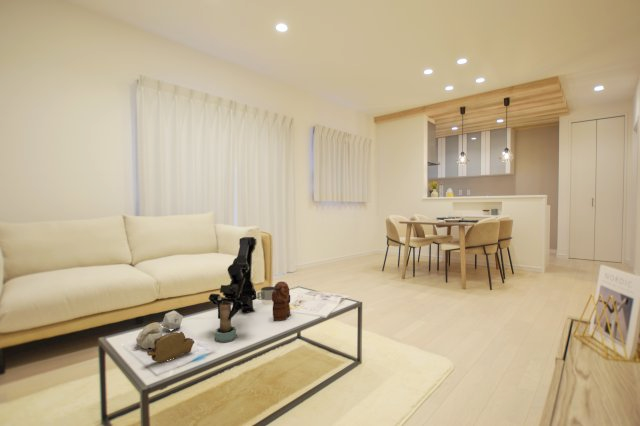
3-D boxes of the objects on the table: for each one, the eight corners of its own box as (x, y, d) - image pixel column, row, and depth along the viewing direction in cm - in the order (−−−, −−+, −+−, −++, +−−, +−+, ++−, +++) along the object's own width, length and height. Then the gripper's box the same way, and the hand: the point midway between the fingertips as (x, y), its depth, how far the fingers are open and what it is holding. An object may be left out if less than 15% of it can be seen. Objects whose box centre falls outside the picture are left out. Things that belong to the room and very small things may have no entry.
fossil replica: (143, 354, 124) (168, 347, 132) (146, 333, 124) (170, 327, 132) (129, 344, 131) (154, 337, 139) (131, 323, 131) (156, 318, 139)
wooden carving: (190, 349, 127) (189, 324, 127) (195, 353, 124) (194, 327, 124) (145, 365, 116) (144, 337, 115) (149, 369, 112) (148, 341, 112)
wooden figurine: (282, 322, 154) (282, 285, 154) (271, 320, 156) (270, 284, 156) (292, 314, 166) (292, 279, 165) (281, 312, 168) (281, 278, 167)
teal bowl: (213, 335, 140) (213, 327, 140) (235, 332, 144) (234, 324, 143) (215, 344, 131) (215, 335, 131) (238, 340, 135) (238, 331, 135)
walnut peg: (219, 333, 139) (219, 299, 138) (230, 331, 140) (229, 298, 140) (220, 337, 135) (220, 302, 134) (231, 335, 136) (231, 301, 136)
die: (158, 334, 143) (168, 319, 140) (158, 319, 149) (167, 305, 147) (177, 336, 148) (186, 321, 145) (175, 321, 154) (185, 307, 152)
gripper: (210, 275, 142) (195, 308, 132) (249, 277, 138) (237, 312, 128) (220, 288, 150) (207, 320, 140) (257, 290, 146) (246, 323, 136)
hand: (223, 318), depth 136 cm, fingers closed on walnut peg, 4 cm apart
